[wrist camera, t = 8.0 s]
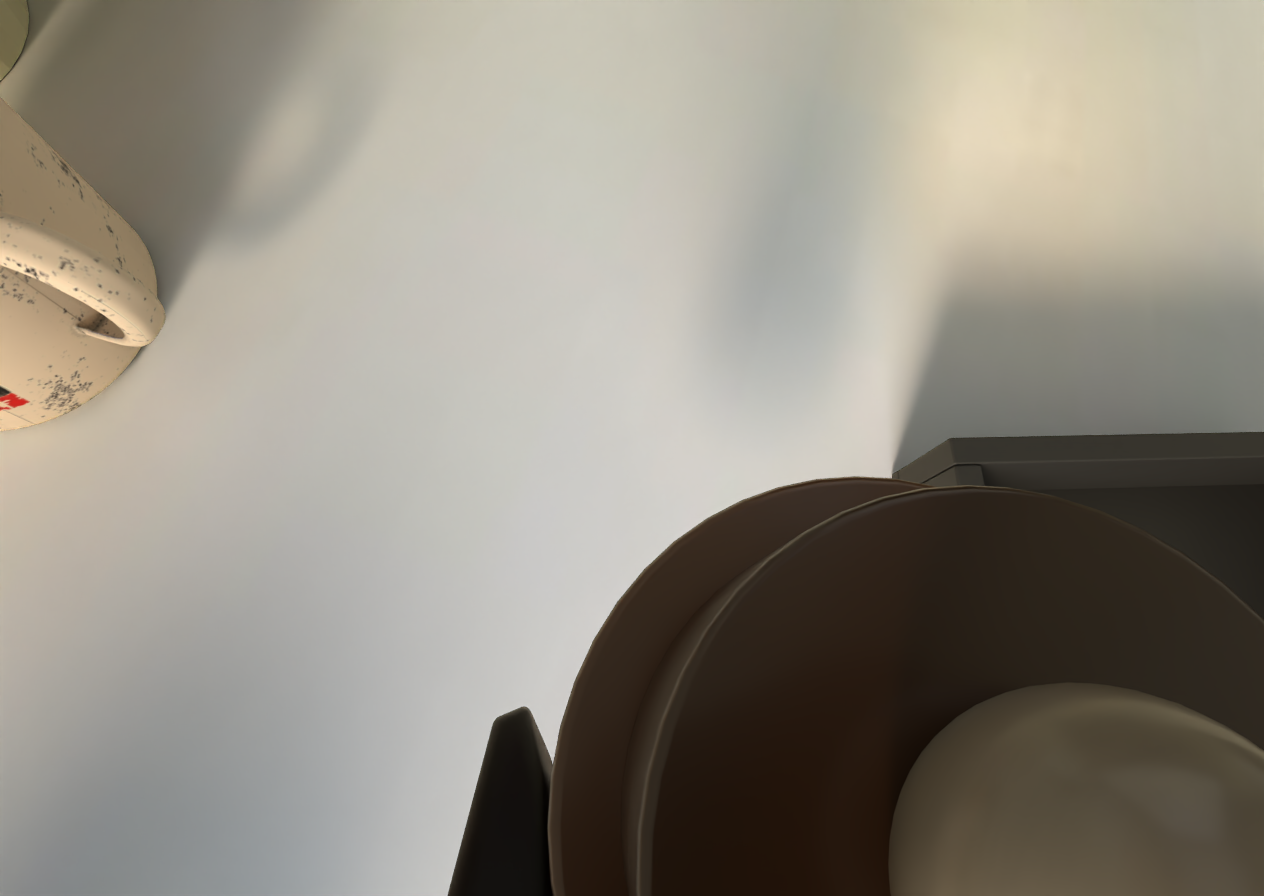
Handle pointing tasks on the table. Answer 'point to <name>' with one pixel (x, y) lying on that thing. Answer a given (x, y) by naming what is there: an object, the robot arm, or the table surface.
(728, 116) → the table surface
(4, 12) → the reusable coffee cup
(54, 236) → the teacup with lid
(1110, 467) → the dark grey tray
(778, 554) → the pepper mill
